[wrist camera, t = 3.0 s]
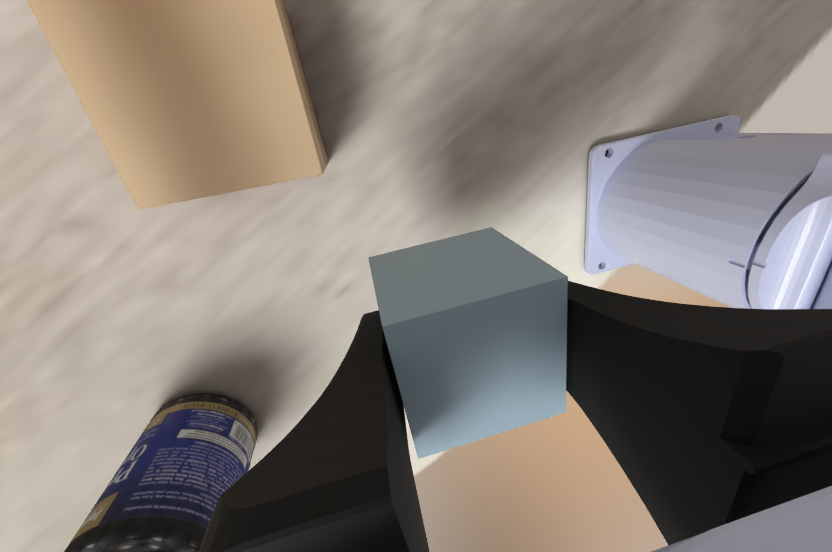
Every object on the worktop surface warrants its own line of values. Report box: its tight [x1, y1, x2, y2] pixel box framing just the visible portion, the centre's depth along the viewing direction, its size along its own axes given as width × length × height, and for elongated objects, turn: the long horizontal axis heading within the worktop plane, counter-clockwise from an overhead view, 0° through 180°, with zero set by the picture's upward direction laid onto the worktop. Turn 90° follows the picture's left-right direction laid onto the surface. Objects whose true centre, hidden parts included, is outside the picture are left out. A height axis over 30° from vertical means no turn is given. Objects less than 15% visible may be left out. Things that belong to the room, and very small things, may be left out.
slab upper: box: [26, 0, 327, 210], centre depth 11 cm, size 6×6×3 cm
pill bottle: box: [64, 394, 257, 552], centre depth 16 cm, size 6×6×11 cm
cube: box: [369, 227, 568, 459], centre depth 11 cm, size 4×4×4 cm
